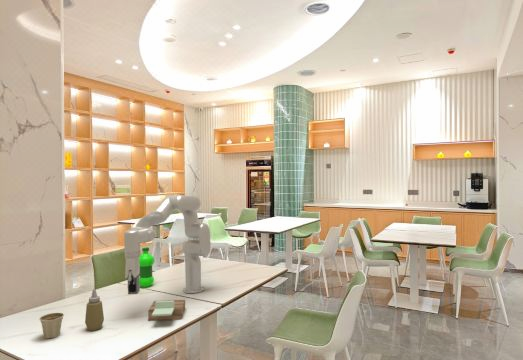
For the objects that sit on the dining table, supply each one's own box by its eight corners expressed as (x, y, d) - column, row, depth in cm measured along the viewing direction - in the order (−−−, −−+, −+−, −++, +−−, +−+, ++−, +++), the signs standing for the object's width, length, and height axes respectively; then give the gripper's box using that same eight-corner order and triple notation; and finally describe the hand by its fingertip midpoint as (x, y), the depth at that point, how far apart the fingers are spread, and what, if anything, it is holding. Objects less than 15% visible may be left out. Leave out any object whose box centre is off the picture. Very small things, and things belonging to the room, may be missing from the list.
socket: (154, 310, 186) (154, 300, 186) (185, 308, 187) (185, 299, 187) (148, 320, 172) (148, 310, 172) (181, 319, 173) (181, 308, 173)
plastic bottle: (156, 284, 235) (156, 246, 235) (150, 288, 224) (149, 249, 225) (142, 283, 236) (141, 246, 236) (135, 288, 225) (134, 249, 226)
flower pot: (68, 331, 161) (68, 312, 161) (57, 340, 152) (56, 320, 152) (47, 331, 161) (47, 312, 161) (34, 340, 151) (34, 320, 151)
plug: (130, 291, 180) (130, 276, 180) (139, 291, 181) (139, 275, 181) (128, 294, 176) (127, 278, 176) (137, 293, 176) (136, 278, 176)
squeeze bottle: (83, 333, 159) (82, 293, 159) (87, 326, 166) (86, 287, 167) (102, 330, 161) (102, 291, 161) (105, 323, 169) (105, 286, 169)
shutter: (155, 309, 173) (155, 301, 173) (174, 308, 173) (174, 300, 173) (151, 316, 164) (151, 308, 164) (171, 315, 164) (171, 307, 164)
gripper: (129, 251, 186) (130, 285, 187) (119, 258, 169) (121, 296, 170) (144, 250, 187) (145, 284, 187) (135, 257, 170) (137, 295, 170)
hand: (133, 289), depth 178 cm, fingers closed on plug, 4 cm apart
